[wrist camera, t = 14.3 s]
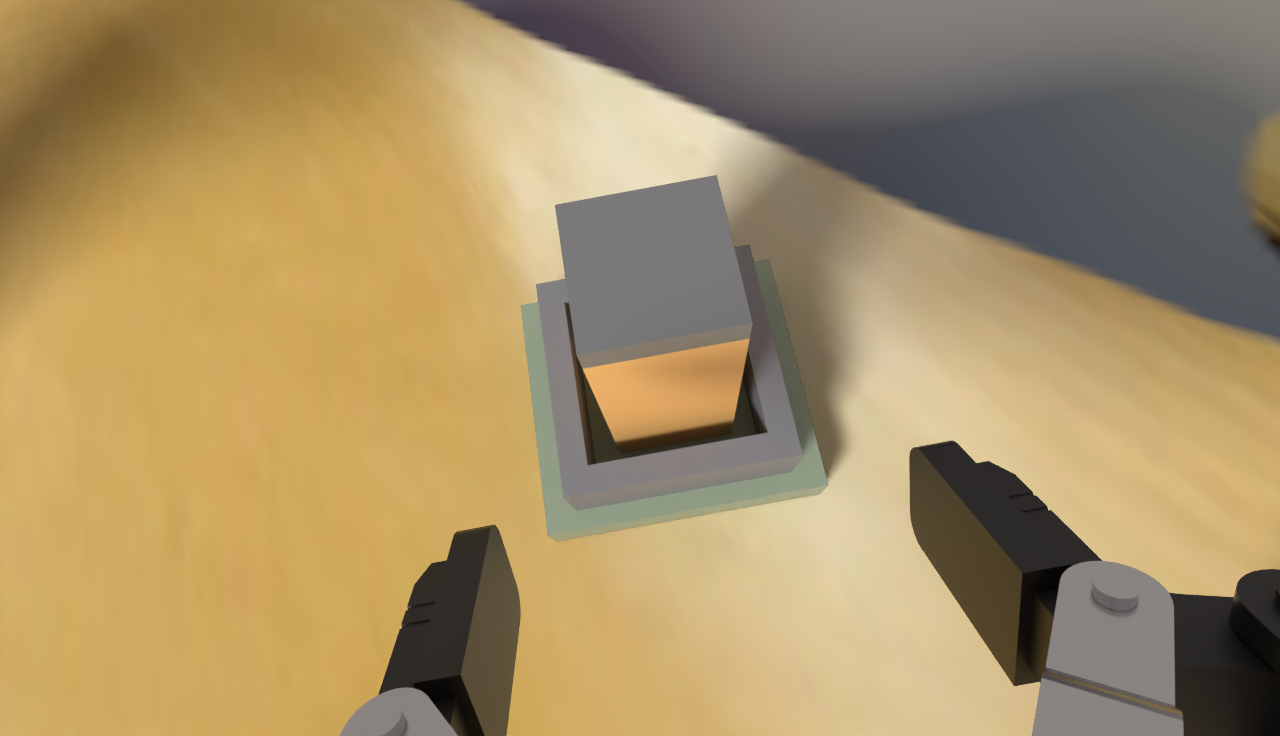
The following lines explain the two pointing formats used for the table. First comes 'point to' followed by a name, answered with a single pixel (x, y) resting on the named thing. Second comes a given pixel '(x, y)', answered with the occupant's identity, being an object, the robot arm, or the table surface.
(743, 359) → the grey-capped square pillar
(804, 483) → the grey square tray
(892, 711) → the table surface
